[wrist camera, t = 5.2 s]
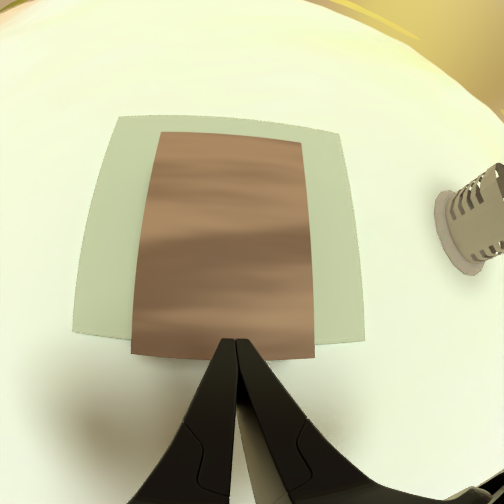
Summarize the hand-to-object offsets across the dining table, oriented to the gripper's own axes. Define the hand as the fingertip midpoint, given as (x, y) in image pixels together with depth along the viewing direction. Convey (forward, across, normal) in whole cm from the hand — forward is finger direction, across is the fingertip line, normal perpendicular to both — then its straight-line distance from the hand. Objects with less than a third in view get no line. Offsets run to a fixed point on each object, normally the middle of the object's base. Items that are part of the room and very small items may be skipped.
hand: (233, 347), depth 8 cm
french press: (+14, -26, 0) cm, 29 cm away
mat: (+12, 0, 0) cm, 12 cm away
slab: (+4, 0, +5) cm, 7 cm away
